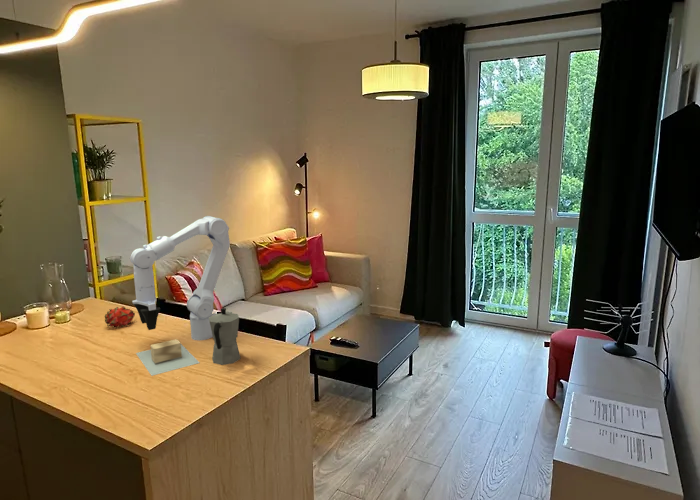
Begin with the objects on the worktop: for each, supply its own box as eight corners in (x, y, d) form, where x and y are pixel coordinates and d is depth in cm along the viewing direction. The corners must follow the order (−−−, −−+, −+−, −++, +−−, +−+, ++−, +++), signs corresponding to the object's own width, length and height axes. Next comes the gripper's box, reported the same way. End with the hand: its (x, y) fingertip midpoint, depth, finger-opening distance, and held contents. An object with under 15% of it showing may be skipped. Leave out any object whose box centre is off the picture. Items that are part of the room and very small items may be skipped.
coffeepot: (217, 354, 149) (214, 301, 145) (246, 354, 149) (243, 301, 145) (202, 376, 133) (198, 317, 130) (234, 376, 133) (231, 317, 130)
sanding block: (178, 353, 146) (176, 339, 145) (181, 357, 143) (180, 342, 142) (151, 360, 141) (150, 345, 140) (155, 364, 138) (153, 349, 137)
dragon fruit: (102, 334, 171) (133, 329, 180) (112, 325, 166) (143, 320, 176) (96, 314, 173) (127, 310, 183) (106, 304, 169) (137, 301, 179)
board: (180, 346, 155) (179, 342, 155) (200, 367, 139) (199, 362, 139) (136, 357, 147) (135, 353, 146) (152, 380, 131) (151, 375, 131)
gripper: (126, 283, 149) (130, 322, 151) (137, 292, 138) (141, 335, 140) (148, 279, 153) (152, 318, 156) (161, 288, 142) (164, 330, 145)
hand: (148, 325), depth 148 cm, fingers open, 7 cm apart
